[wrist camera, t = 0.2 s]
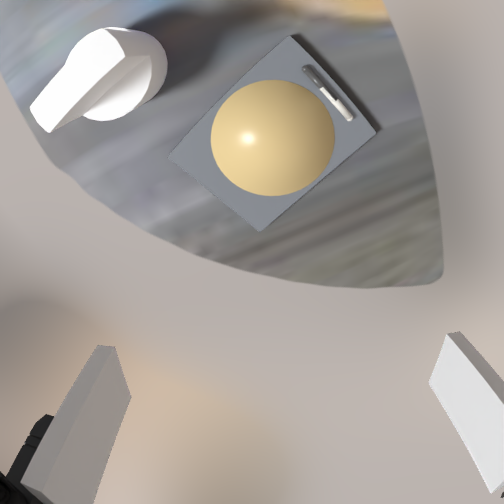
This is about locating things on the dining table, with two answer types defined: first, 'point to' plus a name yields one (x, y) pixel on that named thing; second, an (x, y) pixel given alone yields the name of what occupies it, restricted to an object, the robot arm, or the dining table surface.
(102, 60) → the base with upright slab
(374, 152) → the dining table surface
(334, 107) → the plate
